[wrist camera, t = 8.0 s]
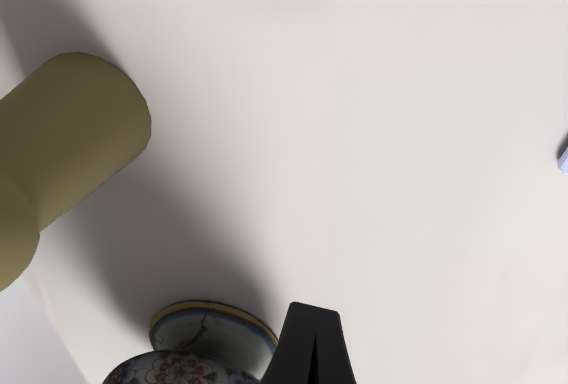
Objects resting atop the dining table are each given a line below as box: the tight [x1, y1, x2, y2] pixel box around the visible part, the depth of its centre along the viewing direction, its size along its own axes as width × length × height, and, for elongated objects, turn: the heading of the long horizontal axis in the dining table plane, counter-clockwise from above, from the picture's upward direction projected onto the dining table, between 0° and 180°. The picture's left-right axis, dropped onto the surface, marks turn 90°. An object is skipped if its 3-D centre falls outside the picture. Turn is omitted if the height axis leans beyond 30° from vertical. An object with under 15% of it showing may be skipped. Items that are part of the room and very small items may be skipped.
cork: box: [0, 52, 151, 292], centre depth 16 cm, size 6×6×11 cm
